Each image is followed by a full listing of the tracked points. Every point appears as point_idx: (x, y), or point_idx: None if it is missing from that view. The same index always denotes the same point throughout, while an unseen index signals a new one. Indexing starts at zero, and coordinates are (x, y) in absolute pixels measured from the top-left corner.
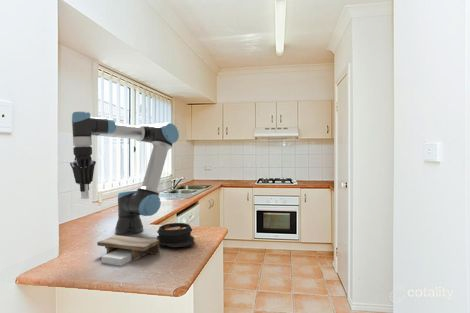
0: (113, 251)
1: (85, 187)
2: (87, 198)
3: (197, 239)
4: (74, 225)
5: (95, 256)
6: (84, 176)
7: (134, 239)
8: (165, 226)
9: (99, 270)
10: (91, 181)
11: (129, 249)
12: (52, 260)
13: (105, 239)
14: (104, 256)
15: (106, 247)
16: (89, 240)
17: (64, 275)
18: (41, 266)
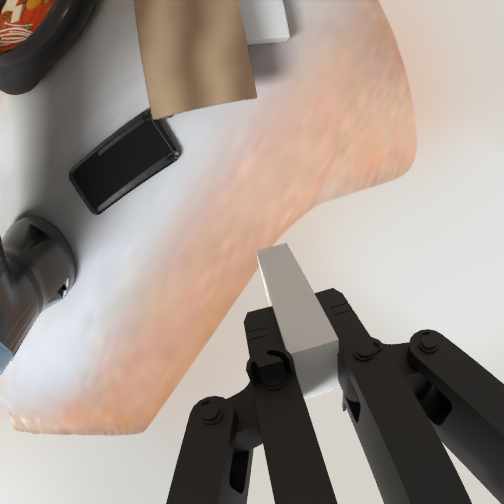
0: None
1: (322, 314)
2: (271, 247)
3: None
4: (131, 410)
5: (258, 102)
6: (401, 442)
7: (161, 7)
8: (14, 45)
9: (327, 8)
10: (212, 400)
11: None
12: (338, 193)
13: (216, 98)
14: (286, 28)
15: (178, 150)
16: (163, 277)
17: (386, 65)
18: (376, 176)
